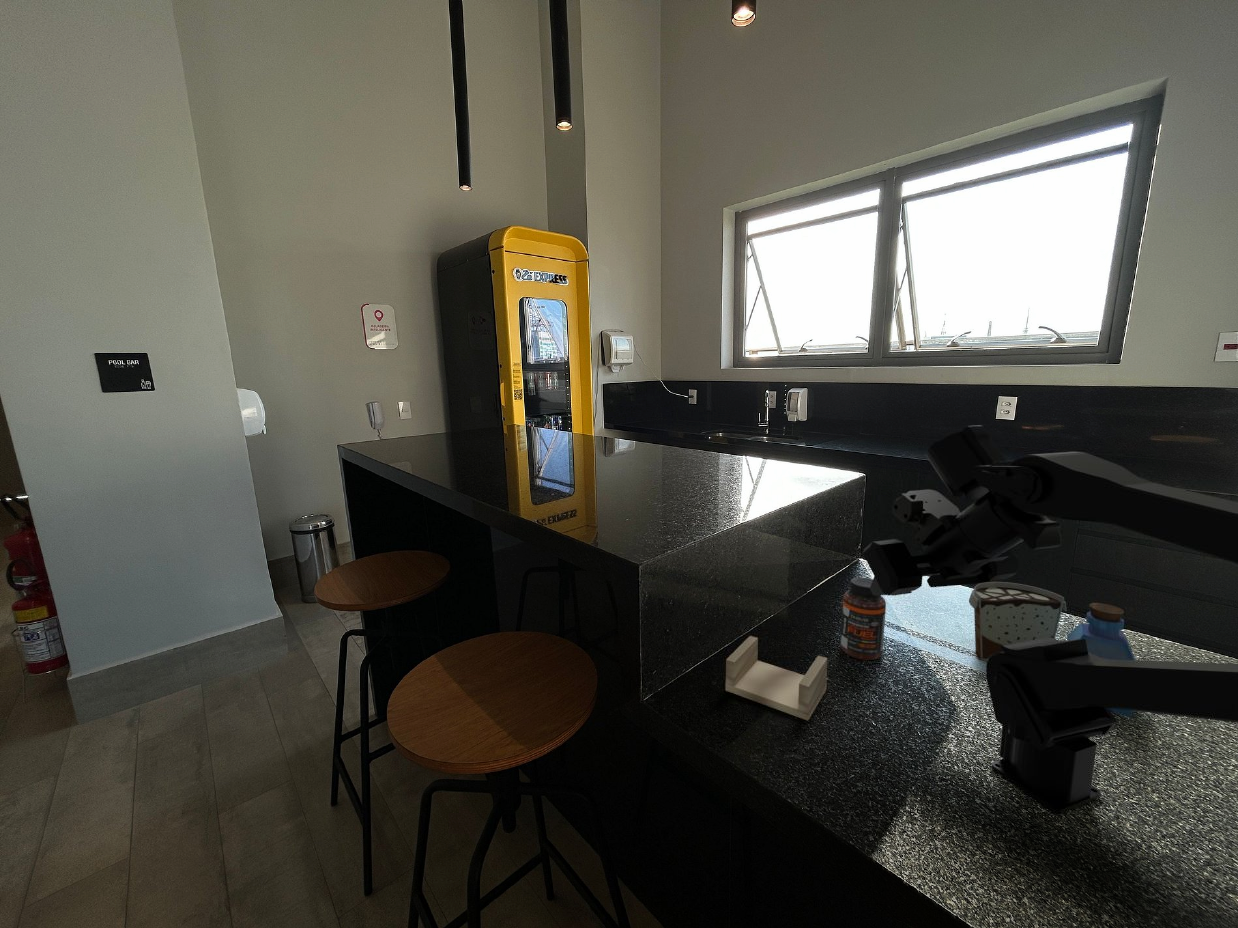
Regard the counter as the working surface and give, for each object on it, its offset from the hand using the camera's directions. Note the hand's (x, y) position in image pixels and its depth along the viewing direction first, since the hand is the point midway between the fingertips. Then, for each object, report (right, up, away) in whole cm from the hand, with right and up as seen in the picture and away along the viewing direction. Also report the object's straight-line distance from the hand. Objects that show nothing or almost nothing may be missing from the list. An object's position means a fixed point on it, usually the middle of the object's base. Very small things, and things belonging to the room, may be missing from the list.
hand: (901, 587), depth 70 cm
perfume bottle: (+24, -14, -3) cm, 27 cm away
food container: (+20, -12, +8) cm, 25 cm away
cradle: (-17, -14, 0) cm, 22 cm away
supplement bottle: (-1, -12, +9) cm, 15 cm away
